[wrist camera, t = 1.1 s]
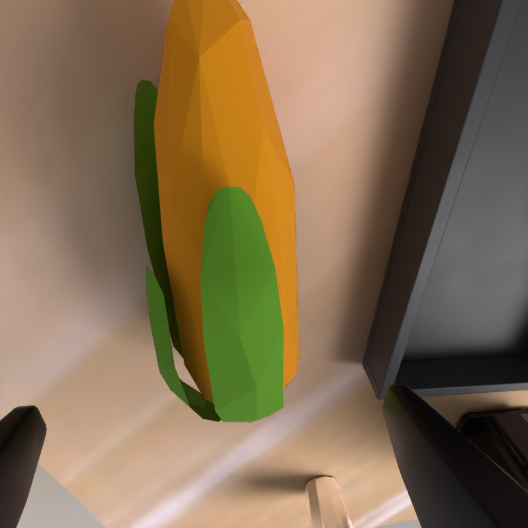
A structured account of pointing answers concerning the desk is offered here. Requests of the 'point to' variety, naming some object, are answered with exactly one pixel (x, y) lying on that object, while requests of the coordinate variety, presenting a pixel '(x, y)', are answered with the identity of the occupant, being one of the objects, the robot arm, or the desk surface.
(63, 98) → the desk surface
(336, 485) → the milkshake
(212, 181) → the corn
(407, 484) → the robot arm
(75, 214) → the desk surface
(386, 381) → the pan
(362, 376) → the desk surface
